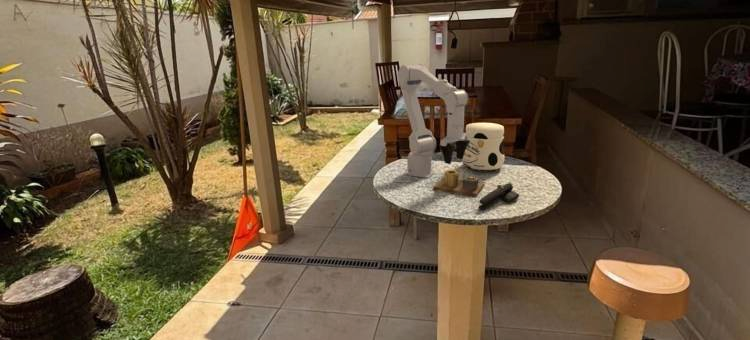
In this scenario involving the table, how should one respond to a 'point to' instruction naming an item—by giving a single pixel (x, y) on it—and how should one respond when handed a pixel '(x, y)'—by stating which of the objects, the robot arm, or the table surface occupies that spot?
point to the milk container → (484, 147)
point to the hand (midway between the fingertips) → (453, 160)
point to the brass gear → (451, 178)
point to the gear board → (462, 187)
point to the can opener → (499, 196)
